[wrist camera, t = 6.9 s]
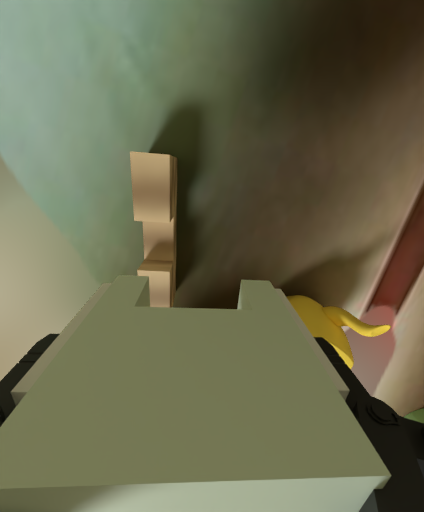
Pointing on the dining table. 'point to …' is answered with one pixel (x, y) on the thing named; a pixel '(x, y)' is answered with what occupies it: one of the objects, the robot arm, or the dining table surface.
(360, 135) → the dining table surface
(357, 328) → the teapot
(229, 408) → the block
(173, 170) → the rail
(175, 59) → the dining table surface
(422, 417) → the mug
